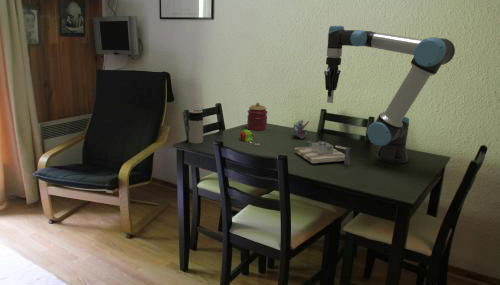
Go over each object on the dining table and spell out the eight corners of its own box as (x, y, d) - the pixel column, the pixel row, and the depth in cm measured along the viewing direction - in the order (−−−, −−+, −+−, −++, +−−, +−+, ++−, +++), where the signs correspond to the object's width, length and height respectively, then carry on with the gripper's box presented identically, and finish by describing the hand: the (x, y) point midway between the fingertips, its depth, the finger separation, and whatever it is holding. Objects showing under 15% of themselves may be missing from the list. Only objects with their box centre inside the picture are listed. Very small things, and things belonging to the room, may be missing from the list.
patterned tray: (348, 160, 194) (349, 152, 193) (312, 163, 187) (312, 155, 186) (324, 147, 215) (325, 140, 214) (291, 149, 209) (291, 142, 208)
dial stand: (349, 165, 190) (351, 148, 188) (347, 166, 189) (349, 149, 187) (335, 161, 195) (336, 145, 193) (333, 162, 194) (334, 145, 192)
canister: (257, 126, 266) (258, 100, 261) (270, 130, 256) (272, 103, 251) (242, 128, 257) (243, 101, 253) (255, 132, 248) (256, 105, 243)
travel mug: (204, 141, 224) (204, 110, 219) (201, 144, 216) (201, 112, 211) (190, 140, 224) (190, 109, 220) (187, 143, 217) (186, 111, 212)
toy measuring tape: (245, 137, 235) (246, 127, 233) (263, 145, 219) (263, 134, 217) (236, 138, 232) (236, 128, 230) (253, 147, 216) (253, 135, 214)
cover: (333, 153, 197) (334, 143, 195) (318, 154, 194) (319, 144, 193) (325, 149, 204) (326, 139, 203) (311, 150, 201) (312, 140, 200)
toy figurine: (307, 141, 232) (308, 121, 229) (288, 139, 234) (290, 119, 231) (308, 136, 243) (309, 117, 239) (290, 135, 245) (291, 116, 242)
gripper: (333, 56, 208) (330, 100, 215) (320, 56, 199) (317, 102, 205) (346, 57, 204) (342, 102, 210) (333, 57, 194) (329, 104, 200)
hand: (329, 102), depth 208 cm, fingers closed
